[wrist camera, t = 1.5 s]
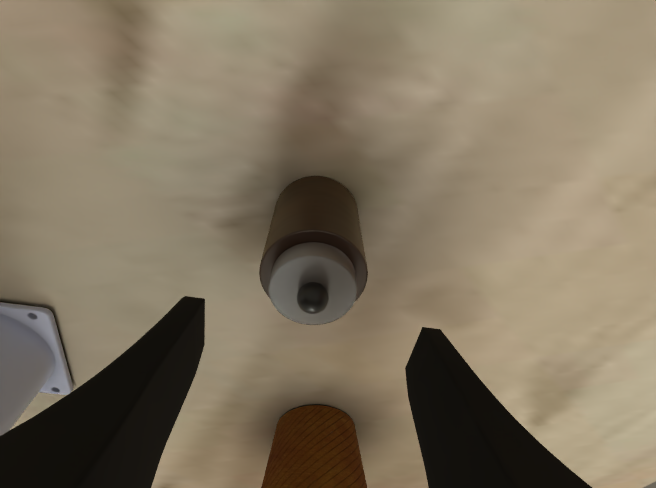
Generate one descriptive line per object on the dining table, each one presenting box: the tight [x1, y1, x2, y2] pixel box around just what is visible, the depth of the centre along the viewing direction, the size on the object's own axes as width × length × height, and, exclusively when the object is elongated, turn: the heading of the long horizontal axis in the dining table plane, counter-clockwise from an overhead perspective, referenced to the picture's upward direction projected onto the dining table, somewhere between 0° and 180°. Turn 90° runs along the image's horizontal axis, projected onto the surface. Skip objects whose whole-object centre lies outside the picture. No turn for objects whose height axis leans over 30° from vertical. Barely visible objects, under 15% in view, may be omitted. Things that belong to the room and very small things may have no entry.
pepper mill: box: [260, 176, 368, 325], centre depth 17 cm, size 4×4×8 cm
